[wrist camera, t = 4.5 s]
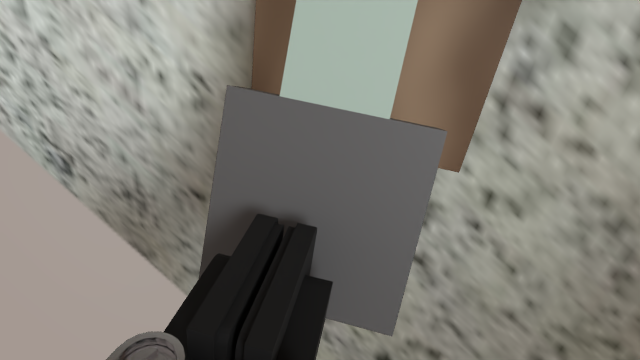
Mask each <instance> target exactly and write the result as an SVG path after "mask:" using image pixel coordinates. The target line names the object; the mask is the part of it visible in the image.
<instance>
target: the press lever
mask: <svg viewBox="0 0 640 360" xmlns="http://www.w3.org/2000/svg"><path fill="white" fill-rule="evenodd" d="M417 2H418V0H296V5H295V11H294V17H293V23H292V28H291V34H290V40H289V45H288V51H287V57H286V62H285V68H284V74H283V80H282V85H281V91H280V95H278V94H274V93H269V92H264V91H259V90H255V89H250V88H244V87H237V86H229V85H227V90H226V97H225V104H224V111H223V117H222V124H221V131H220V138H219V145H218V151H217V158H216V165H215V172H214V179H213V186H212V192H211V199H210V206H209V213H208V220H207V226H206V233H205V240H204V247H203V254H202V261H201V267H200V274H199V278H200V277H201V275H202V274H203V272H204V271H205V269H206V268H207V266H208V265H209V264H210V262H211V261H212V259H213V258H214V257H215V255H217V254H218V253H220V254H224V255H228V256H232V254H233V252H234V251H235V249H236V248H237V246H238V244H239V243H240V241H241V239H242V238H243V236H244V234H245V233H246V231H247V230H248V228H249V226H250V225H251V223H252V221H253V220H254V218H255V217H256V215H257V214H263V215H267V216H272V217H276V218H278V224H282V225H284V232H283V238H284V235H285V233H286V231H287V229H288V227H289V226H291V227H296V225H297V223H301V224H306V225H310V226H314V227H317V235H316V241H315V247H314V253H313V259H312V264H311V270H310V276H312V277H316V278H320V279H324V280H328V281H332V282H333V285H332V290H331V295H330V299H329V304H328V309H327V313H326V317H325V318H327V319H331V320H335V321H338V322H342V323H345V324H349V325H353V326H356V327H360V328H364V329H367V330H371V331H375V332H378V333H382V334H386V335H389V336H392V335H393V332H394V328H395V324H396V320H397V317H398V313H399V309H400V306H401V302H402V298H403V295H404V291H405V287H406V283H407V280H408V276H409V272H410V269H411V265H412V261H413V258H414V254H415V250H416V246H417V243H418V239H419V235H420V232H421V228H422V224H423V220H424V217H425V213H426V209H427V206H428V202H429V198H430V195H431V191H432V187H433V183H434V180H435V176H436V172H437V169H438V165H439V161H440V158H441V154H442V150H443V146H444V143H445V139H446V135H447V132H448V131H445V130H443V129H440V128H436V127H431V126H427V125H422V124H417V123H412V122H407V121H403V120H398V119H393V118H390V116H391V111H392V107H393V103H394V99H395V95H396V90H397V86H398V82H399V78H400V74H401V69H402V65H403V61H404V57H405V52H406V48H407V44H408V40H409V36H410V31H411V27H412V23H413V19H414V14H415V10H416V6H417Z"/></svg>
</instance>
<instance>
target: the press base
mask: <svg viewBox="0 0 640 360" xmlns="http://www.w3.org/2000/svg"><path fill="white" fill-rule="evenodd" d="M521 1H522V0H418V2H417V6H416V10H415V14H414V19H413V23H412V27H411V31H410V36H409V40H408V44H407V48H406V52H405V57H404V61H403V65H402V69H401V74H400V78H399V82H398V86H397V90H396V95H395V99H394V103H393V107H392V111H391V116H390V118H393V119H398V120H403V121H407V122H412V123H417V124H422V125H427V126H431V127H436V128H440V129H443V130H445V131H448V132H447V135H446V139H445V143H444V146H443V150H442V154H441V158H440V161H439V165H438V168H441V169H446V170H450V171H455V172H459V171H460V168H461V166H462V163H463V160H464V157H465V155H466V152H467V149H468V146H469V144H470V141H471V138H472V135H473V133H474V130H475V127H476V124H477V122H478V119H479V116H480V114H481V111H482V108H483V105H484V103H485V100H486V97H487V94H488V92H489V89H490V86H491V83H492V81H493V78H494V75H495V72H496V70H497V67H498V64H499V61H500V59H501V56H502V53H503V51H504V48H505V45H506V42H507V40H508V37H509V34H510V31H511V29H512V26H513V23H514V20H515V18H516V15H517V12H518V9H519V7H520V4H521ZM295 5H296V0H256V12H255V31H254V50H253V69H252V88H251V89H255V90H259V91H264V92H269V93H274V94H278V95H280V91H281V85H282V80H283V74H284V68H285V62H286V57H287V51H288V45H289V40H290V34H291V28H292V23H293V17H294V11H295Z"/></svg>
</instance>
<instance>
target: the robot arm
mask: <svg viewBox="0 0 640 360" xmlns="http://www.w3.org/2000/svg"><path fill="white" fill-rule="evenodd" d="M283 232H284V225H282V224H278V218H276V217H272V216H267V215H263V214H257V215H256V217H255V218H254V220H253V221H252V223H251V225H250V226H249V228H248V230H247V231H246V233H245V234H244V236H243V238H242V239H241V241H240V243H239V244H238V246H237V248H236V249H235V251H234V252H233V254H232V256H228V255H224V254H220V253H218V254H217V255H215V257H214V258H213V259H212V261H211V262H210V264H209V265H208V266H207V268H206V269H205V271H204V272H203V274H202V275H201V277H200V278H199V280H198V281H197V283H196V284H195V286H194V287H193V289H192V290H191V292H190V293H189V295H188V296H187V298H186V299H185V301H184V302H183V304H182V305H181V307H180V308H179V310H178V311H177V313H176V314H175V316H174V317H173V319H172V320H171V322H170V323H169V325H168V326H167V328H166V329H165V331H164V332H146V333H143V334H138V335H136V336H134V337H132V338H130V339H128V340H126V341H125V342H124V343H123V344H121V345H120V346H119V347H118V348H117V349H116V350H115V351H114V352H113V353H112V354H111V355H110V356H109V357H108V358H107V359H106V360H316V356H317V352H318V347H319V343H320V339H321V335H322V331H323V326H324V322H325V317H326V313H327V309H328V304H329V299H330V295H331V290H332V285H333V282H332V281H328V280H324V279H320V278H316V277H312V276H310V270H311V264H312V259H313V253H314V247H315V241H316V235H317V227H314V226H310V225H306V224H301V223H297V225H296V227H291V226H289V227H288V229H287V231H286V233H285V235H284V238H283Z"/></svg>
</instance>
